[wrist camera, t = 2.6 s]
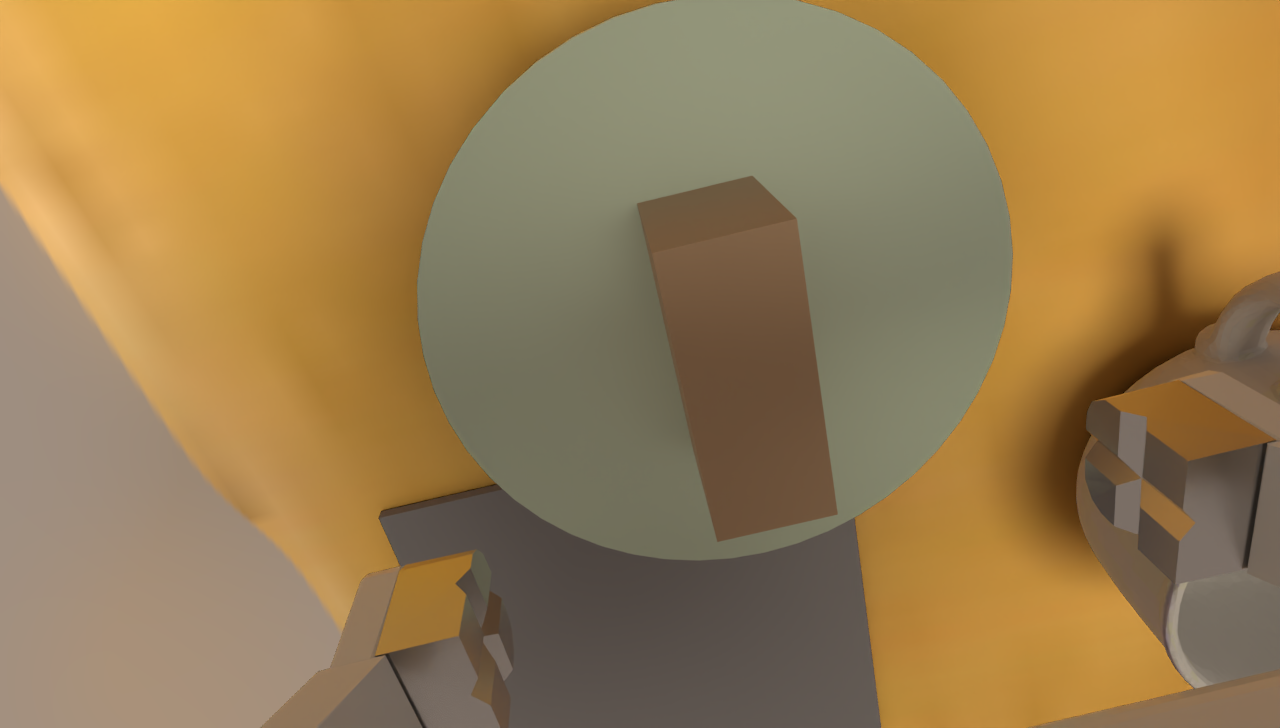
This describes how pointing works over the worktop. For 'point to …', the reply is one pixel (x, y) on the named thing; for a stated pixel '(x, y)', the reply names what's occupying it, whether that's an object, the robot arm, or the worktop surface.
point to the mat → (661, 624)
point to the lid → (714, 277)
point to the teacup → (1221, 605)
